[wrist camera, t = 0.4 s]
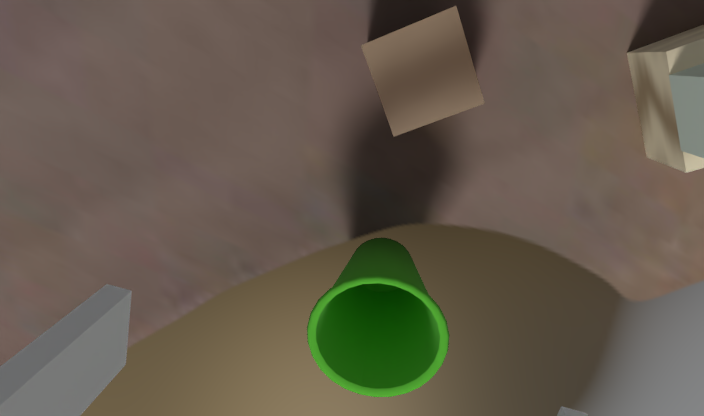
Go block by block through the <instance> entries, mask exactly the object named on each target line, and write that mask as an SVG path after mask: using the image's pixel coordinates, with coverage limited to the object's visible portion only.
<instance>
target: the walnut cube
mask: <svg viewBox="0 0 704 416" xmlns="http://www.w3.org/2000/svg"><path fill="white" fill-rule="evenodd" d="M361 47H362V50H363V53H364V55H365V58H366V61H367V64H368V67H369V69H370V72H371V75H372V78H373V81H374V83H375V86H376V89H377V92H378V95H379V97H380V100H381V103H382V106H383V109H384V111H385V114H386V117H387V120H388V122H389V125H390V128H391V131H392V134H393V136H394V137H395V136H397V135H400V134H403V133H406V132H408V131H411V130H414V129H416V128H419V127H422V126H425V125H427V124H430V123H433V122H436V121H438V120H441V119H444V118H446V117H449V116H452V115H455V114H457V113H460V112H463V111H466V110H468V109H471V108H474V107H476V106H479V105H482V104H485V103H484V99H483V96H482V92H481V89H480V86H479V82H478V79H477V75H476V72H475V68H474V65H473V62H472V58H471V55H470V51H469V48H468V44H467V41H466V37H465V34H464V31H463V27H462V24H461V20H460V17H459V13H458V10H457V7H456V6H454V7H452V8H449V9H447V10H444V11H442V12H440V13H437V14H435V15H432V16H430V17H428V18H425V19H423V20H420V21H418V22H416V23H413V24H411V25H409V26H406V27H404V28H401V29H399V30H397V31H394V32H392V33H389V34H387V35H385V36H382V37H380V38H377V39H375V40H373V41H370V42H368V43H365V44H363V45H361Z"/></svg>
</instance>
